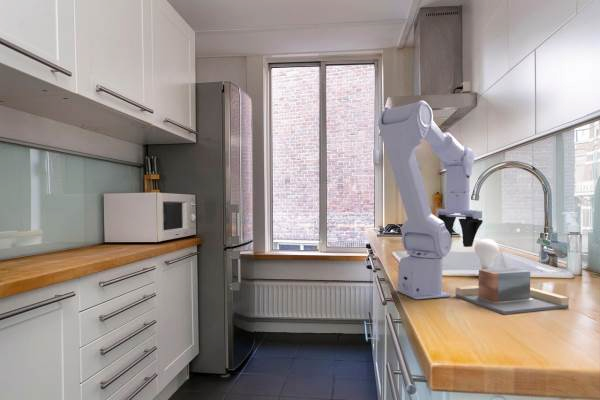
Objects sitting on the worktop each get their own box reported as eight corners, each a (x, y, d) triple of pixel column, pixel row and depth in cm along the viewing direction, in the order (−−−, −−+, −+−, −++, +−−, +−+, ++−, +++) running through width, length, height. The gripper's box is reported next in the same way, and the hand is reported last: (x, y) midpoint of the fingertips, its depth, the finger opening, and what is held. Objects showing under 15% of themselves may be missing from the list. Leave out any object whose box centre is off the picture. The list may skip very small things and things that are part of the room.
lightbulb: (477, 272, 105) (477, 237, 105) (500, 276, 101) (501, 238, 101) (472, 276, 100) (472, 238, 100) (496, 279, 96) (497, 240, 96)
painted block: (529, 299, 75) (530, 271, 75) (493, 302, 72) (493, 273, 72) (513, 294, 79) (514, 267, 79) (478, 297, 76) (478, 269, 76)
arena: (504, 314, 66) (504, 303, 66) (455, 296, 79) (455, 287, 79) (568, 307, 71) (568, 297, 71) (513, 291, 84) (513, 282, 84)
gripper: (492, 192, 85) (491, 247, 85) (450, 193, 99) (450, 240, 99) (468, 192, 83) (468, 248, 83) (429, 193, 97) (429, 241, 97)
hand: (456, 244), depth 91 cm, fingers open, 7 cm apart
